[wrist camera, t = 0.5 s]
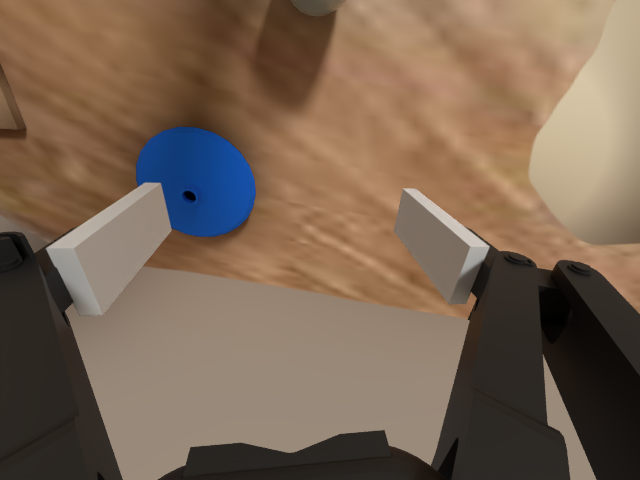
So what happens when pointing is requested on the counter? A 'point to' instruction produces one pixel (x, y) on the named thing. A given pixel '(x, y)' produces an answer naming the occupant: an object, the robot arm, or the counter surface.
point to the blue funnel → (198, 180)
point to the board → (8, 107)
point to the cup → (317, 6)
